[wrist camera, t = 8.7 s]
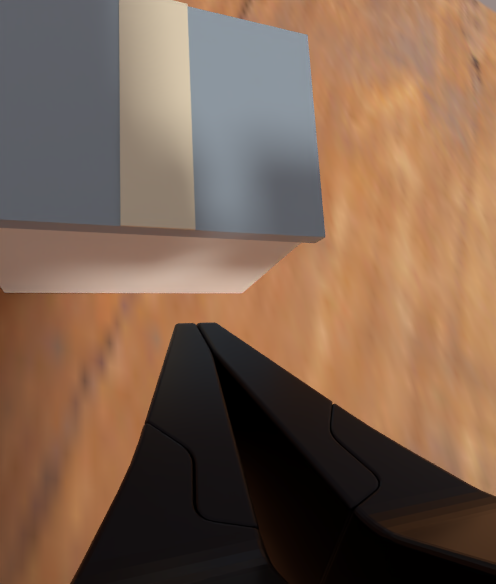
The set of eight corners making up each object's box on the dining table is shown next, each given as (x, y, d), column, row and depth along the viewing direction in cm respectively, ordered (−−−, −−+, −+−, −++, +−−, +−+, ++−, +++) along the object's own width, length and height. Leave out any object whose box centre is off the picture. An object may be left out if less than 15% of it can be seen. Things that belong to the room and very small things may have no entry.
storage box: (241, 293, 24) (304, 239, 17) (4, 292, 20) (-46, 221, 13) (230, 170, 26) (282, 75, 19) (13, 146, 22) (-26, 14, 15)
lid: (314, 243, 17) (326, 236, 16) (-59, 224, 12) (-71, 214, 12) (298, 48, 18) (308, 33, 17) (-43, -28, 14) (-51, -53, 13)
